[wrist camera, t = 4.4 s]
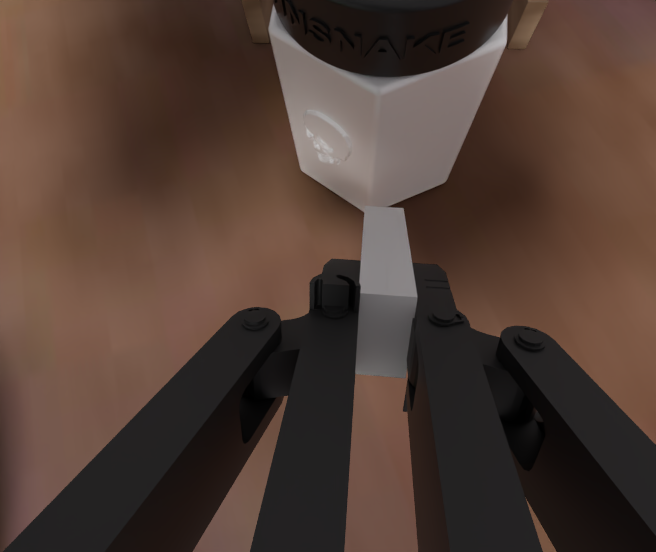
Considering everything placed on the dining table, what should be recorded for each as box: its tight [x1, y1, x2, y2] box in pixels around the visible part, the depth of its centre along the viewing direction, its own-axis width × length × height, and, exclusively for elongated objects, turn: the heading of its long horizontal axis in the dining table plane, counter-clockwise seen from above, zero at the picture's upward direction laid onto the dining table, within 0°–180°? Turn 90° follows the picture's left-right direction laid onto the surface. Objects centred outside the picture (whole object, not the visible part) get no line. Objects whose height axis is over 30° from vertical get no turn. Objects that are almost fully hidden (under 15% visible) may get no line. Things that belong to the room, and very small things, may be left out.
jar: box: [268, 0, 513, 212], centre depth 18 cm, size 9×8×12 cm
